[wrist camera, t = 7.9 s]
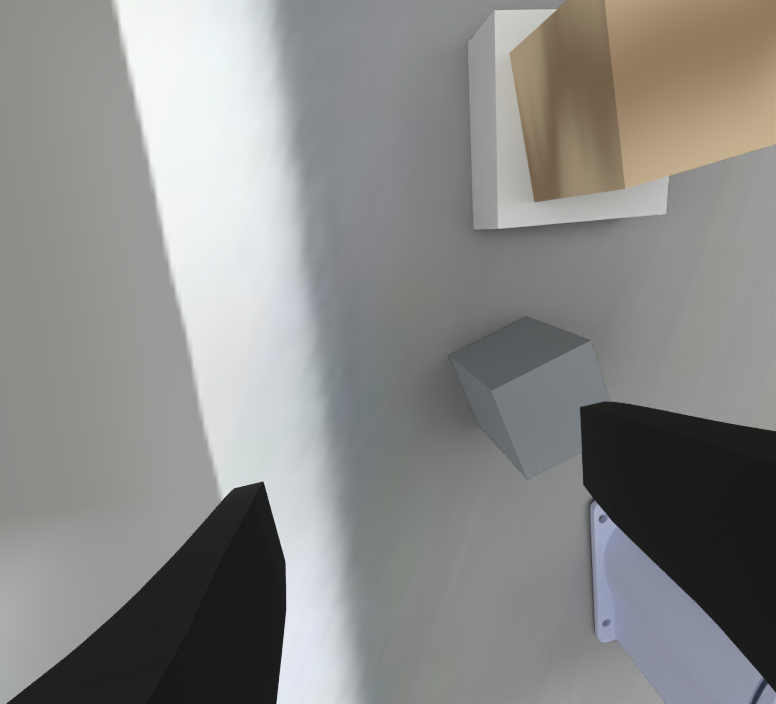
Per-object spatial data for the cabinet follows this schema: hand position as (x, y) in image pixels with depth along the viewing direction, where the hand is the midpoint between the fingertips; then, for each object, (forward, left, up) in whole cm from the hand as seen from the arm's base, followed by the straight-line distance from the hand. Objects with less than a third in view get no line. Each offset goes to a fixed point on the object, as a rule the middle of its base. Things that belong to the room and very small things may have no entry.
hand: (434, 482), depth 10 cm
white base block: (+8, -9, -11) cm, 16 cm away
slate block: (-2, -6, -10) cm, 12 cm away
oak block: (+8, -9, -8) cm, 15 cm away
